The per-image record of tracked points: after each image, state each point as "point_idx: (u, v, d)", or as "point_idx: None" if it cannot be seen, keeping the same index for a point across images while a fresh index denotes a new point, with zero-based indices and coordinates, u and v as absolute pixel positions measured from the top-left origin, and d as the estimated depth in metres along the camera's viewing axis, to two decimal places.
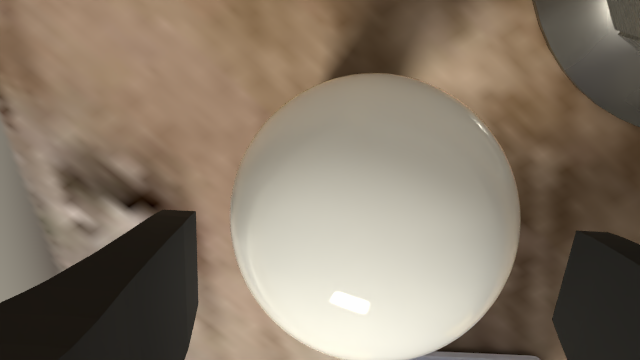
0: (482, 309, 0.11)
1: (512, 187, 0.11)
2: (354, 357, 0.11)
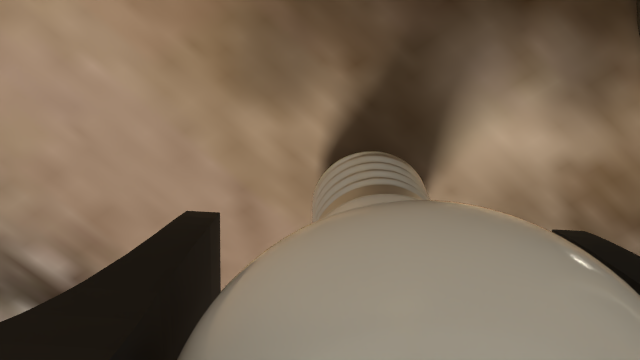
0: None
1: None
2: None
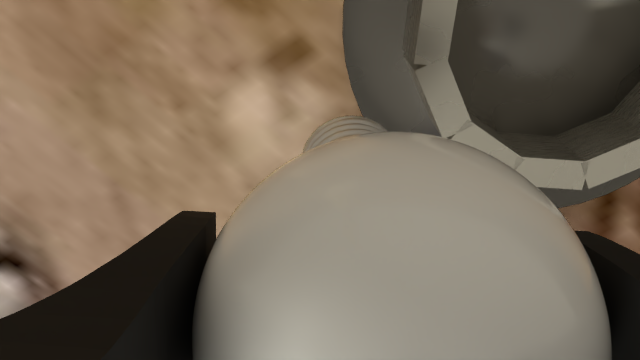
0: None
1: (608, 318, 0.08)
2: None
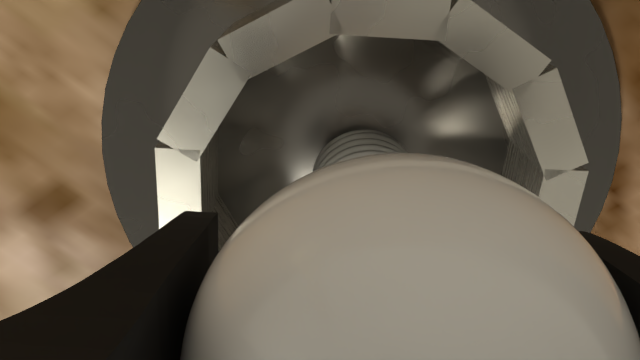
0: None
1: None
2: None
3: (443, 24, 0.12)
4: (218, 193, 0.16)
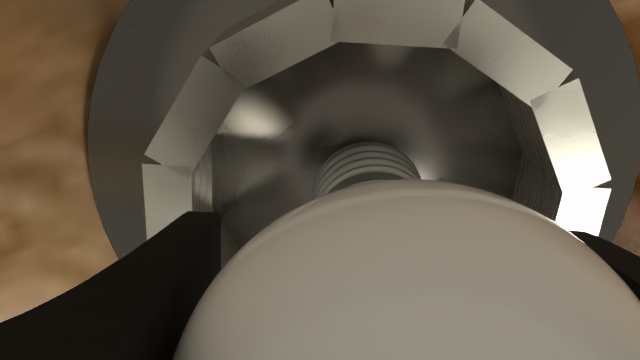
0: None
1: (524, 302, 0.05)
2: None
3: (229, 78, 0.11)
4: None
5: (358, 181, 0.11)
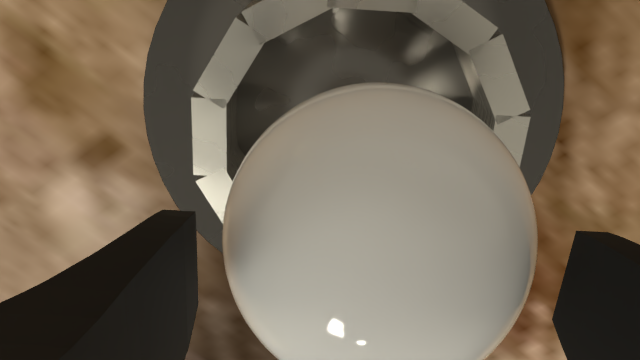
0: (513, 273, 0.10)
1: (460, 137, 0.10)
2: None
3: None
4: (237, 142, 0.19)
5: None
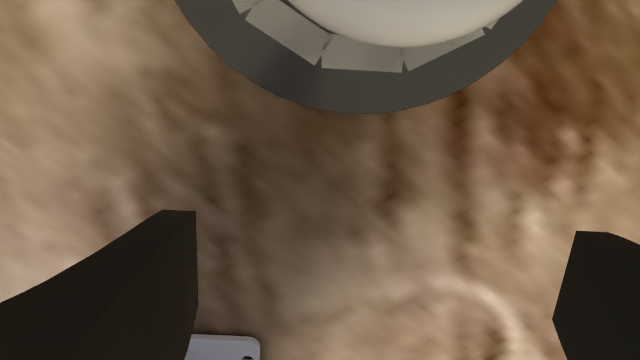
0: None
1: None
2: None
3: None
4: None
5: None
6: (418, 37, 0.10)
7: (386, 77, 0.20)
